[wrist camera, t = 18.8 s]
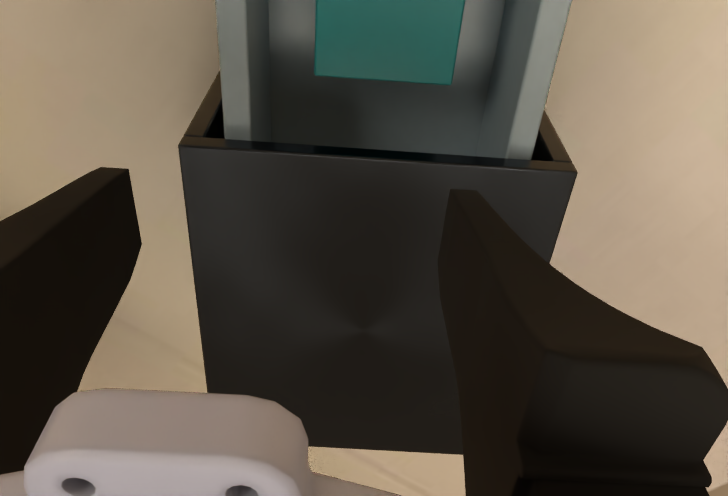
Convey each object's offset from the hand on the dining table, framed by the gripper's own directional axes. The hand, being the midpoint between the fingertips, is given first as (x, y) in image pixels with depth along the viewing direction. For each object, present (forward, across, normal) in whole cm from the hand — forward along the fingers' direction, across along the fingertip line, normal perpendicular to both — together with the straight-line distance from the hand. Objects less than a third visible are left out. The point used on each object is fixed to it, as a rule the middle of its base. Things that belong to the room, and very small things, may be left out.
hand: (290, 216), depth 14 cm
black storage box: (+10, -2, +7) cm, 13 cm away
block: (+8, -2, -3) cm, 9 cm away
